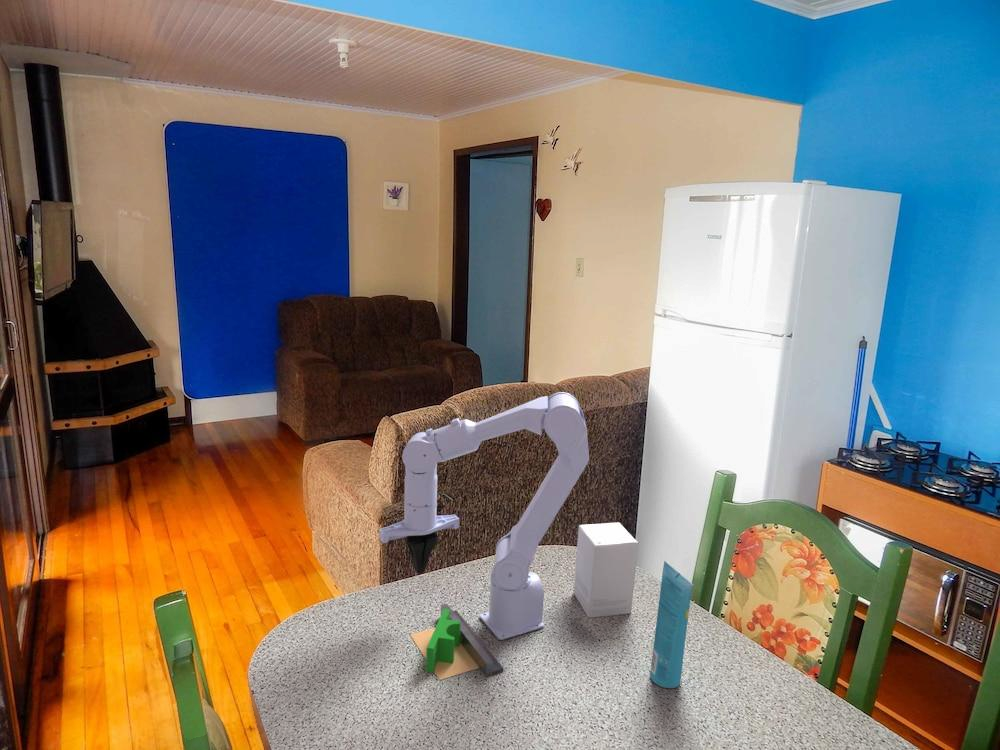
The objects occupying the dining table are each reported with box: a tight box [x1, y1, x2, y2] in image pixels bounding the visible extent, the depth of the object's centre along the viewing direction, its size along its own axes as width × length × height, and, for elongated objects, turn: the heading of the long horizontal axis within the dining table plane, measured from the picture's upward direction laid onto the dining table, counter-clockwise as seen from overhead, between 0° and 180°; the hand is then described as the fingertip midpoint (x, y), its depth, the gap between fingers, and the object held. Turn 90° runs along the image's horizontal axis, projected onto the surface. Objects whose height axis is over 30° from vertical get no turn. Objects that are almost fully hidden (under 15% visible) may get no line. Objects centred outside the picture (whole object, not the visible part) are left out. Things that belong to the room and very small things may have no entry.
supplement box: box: [573, 521, 639, 619], centre depth 125 cm, size 9×9×15 cm
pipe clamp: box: [425, 609, 461, 674], centre depth 109 cm, size 11×4×5 cm, turn 171°
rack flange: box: [409, 603, 504, 681], centre depth 111 cm, size 10×18×2 cm, turn 29°
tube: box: [649, 560, 694, 689], centre depth 104 cm, size 7×5×19 cm, turn 26°
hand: (419, 570), depth 117 cm, fingers closed
